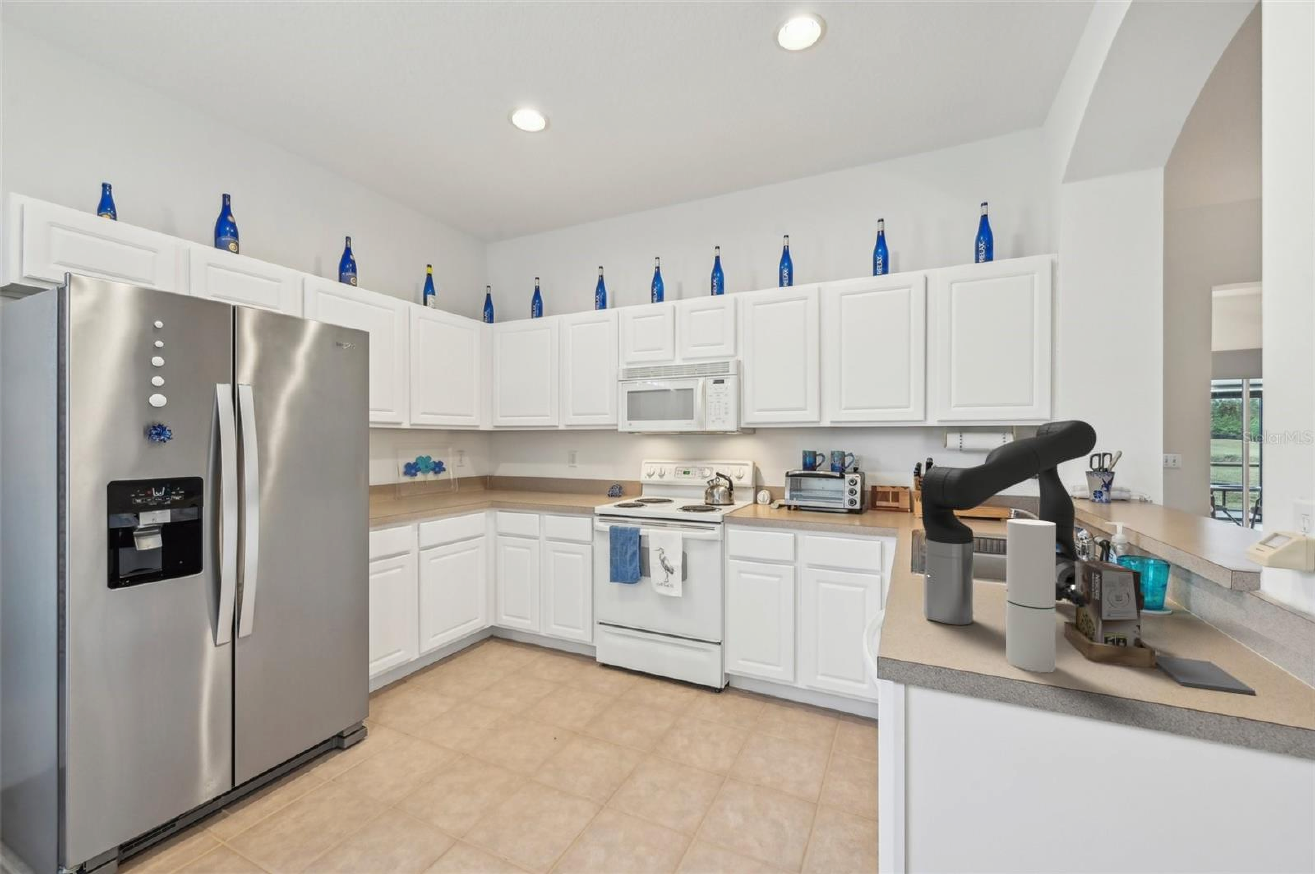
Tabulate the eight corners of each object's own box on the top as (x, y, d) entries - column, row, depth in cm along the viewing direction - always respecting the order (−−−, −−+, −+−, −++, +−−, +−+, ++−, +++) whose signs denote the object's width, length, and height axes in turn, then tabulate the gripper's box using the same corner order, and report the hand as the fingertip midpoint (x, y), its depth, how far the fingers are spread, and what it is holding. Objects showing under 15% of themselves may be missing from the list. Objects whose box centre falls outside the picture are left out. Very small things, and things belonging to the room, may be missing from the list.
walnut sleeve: (1088, 660, 98) (1088, 643, 98) (1064, 636, 110) (1064, 621, 110) (1155, 668, 95) (1155, 651, 95) (1123, 642, 107) (1123, 627, 107)
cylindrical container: (1050, 660, 98) (1050, 520, 98) (1059, 675, 92) (1060, 526, 92) (1003, 653, 101) (1003, 518, 101) (1009, 668, 95) (1010, 523, 95)
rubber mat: (1181, 685, 88) (1181, 681, 88) (1145, 657, 100) (1145, 654, 100) (1255, 695, 85) (1255, 691, 85) (1209, 665, 96) (1209, 661, 96)
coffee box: (1142, 662, 97) (1143, 571, 97) (1101, 659, 99) (1101, 570, 99) (1111, 643, 106) (1111, 560, 106) (1073, 641, 108) (1074, 558, 108)
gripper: (1038, 562, 119) (1063, 580, 104) (1119, 568, 114) (1158, 588, 99) (1038, 597, 119) (1063, 620, 104) (1118, 604, 114) (1158, 629, 99)
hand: (1109, 604), depth 101 cm, fingers open, 8 cm apart
